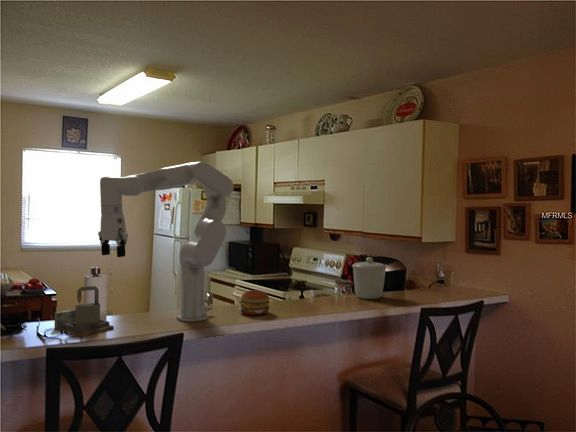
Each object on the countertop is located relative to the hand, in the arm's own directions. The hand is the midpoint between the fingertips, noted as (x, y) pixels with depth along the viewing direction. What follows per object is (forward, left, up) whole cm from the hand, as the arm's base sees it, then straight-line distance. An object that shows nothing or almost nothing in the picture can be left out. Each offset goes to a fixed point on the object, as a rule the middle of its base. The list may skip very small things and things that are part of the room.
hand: (113, 255), depth 185 cm
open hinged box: (+7, -7, -27) cm, 29 cm away
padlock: (+7, -5, -26) cm, 28 cm away
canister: (-121, +44, -28) cm, 132 cm away
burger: (-55, +23, -28) cm, 65 cm away
